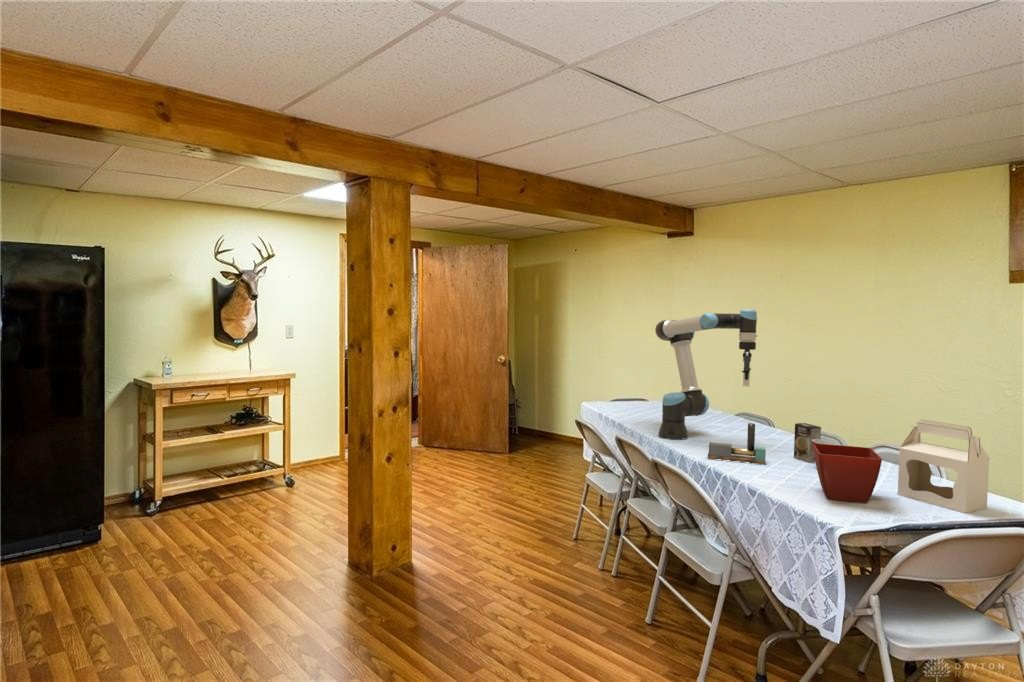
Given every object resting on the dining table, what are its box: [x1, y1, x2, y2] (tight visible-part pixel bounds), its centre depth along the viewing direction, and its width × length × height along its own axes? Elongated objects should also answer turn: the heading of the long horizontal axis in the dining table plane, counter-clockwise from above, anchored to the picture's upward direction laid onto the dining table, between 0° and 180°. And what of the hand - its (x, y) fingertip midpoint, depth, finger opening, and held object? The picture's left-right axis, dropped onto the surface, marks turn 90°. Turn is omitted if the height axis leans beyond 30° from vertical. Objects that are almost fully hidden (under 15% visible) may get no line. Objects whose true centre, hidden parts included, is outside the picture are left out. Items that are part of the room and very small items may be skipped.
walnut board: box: [706, 451, 766, 465], centre depth 254 cm, size 24×7×2 cm, turn 68°
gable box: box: [897, 419, 990, 514], centre depth 199 cm, size 22×13×28 cm, turn 25°
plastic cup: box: [812, 439, 841, 468], centre depth 240 cm, size 11×11×12 cm
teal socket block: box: [754, 445, 767, 462], centre depth 250 cm, size 4×5×5 cm
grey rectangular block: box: [708, 441, 733, 457], centre depth 256 cm, size 10×5×5 cm, turn 68°
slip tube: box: [731, 422, 756, 457], centre depth 252 cm, size 14×3×14 cm, turn 68°
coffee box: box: [793, 422, 822, 463], centre depth 255 cm, size 9×6×16 cm
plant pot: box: [813, 444, 883, 504], centre depth 203 cm, size 19×19×17 cm
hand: (746, 384), depth 274 cm, fingers open, 13 cm apart
